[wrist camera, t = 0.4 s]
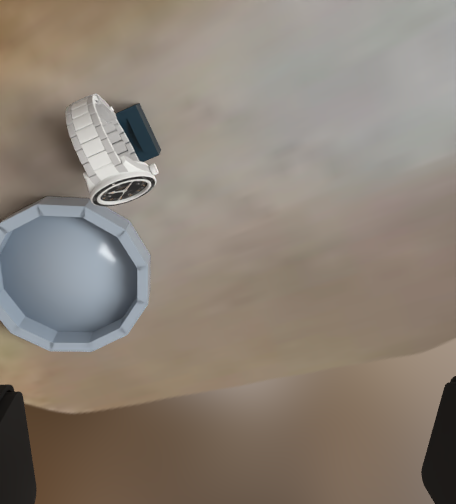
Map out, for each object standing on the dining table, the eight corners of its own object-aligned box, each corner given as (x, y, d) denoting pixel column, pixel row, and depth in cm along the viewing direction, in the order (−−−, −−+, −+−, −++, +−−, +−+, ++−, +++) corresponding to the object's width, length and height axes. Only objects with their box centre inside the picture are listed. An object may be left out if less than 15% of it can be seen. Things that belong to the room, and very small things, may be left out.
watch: (116, 192, 40) (92, 230, 29) (72, 109, 37) (28, 118, 26) (171, 169, 39) (165, 198, 29) (131, 82, 36) (109, 82, 26)
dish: (-17, 193, 38) (-31, 201, 36) (151, 201, 40) (148, 209, 38) (3, 334, 44) (-9, 350, 41) (149, 336, 46) (147, 352, 43)
